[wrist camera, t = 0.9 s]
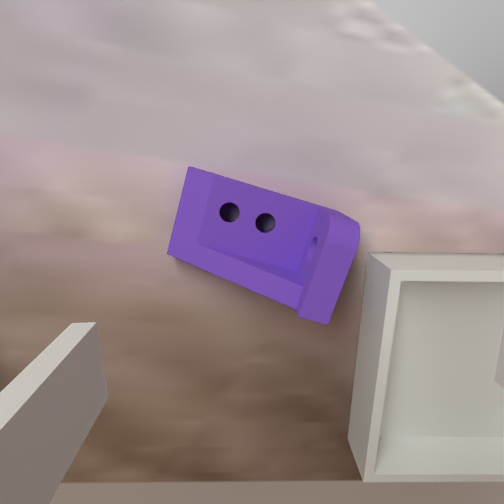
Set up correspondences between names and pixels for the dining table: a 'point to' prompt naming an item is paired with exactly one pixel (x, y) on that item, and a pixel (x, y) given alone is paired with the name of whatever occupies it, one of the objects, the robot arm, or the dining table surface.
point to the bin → (429, 369)
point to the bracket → (266, 242)
